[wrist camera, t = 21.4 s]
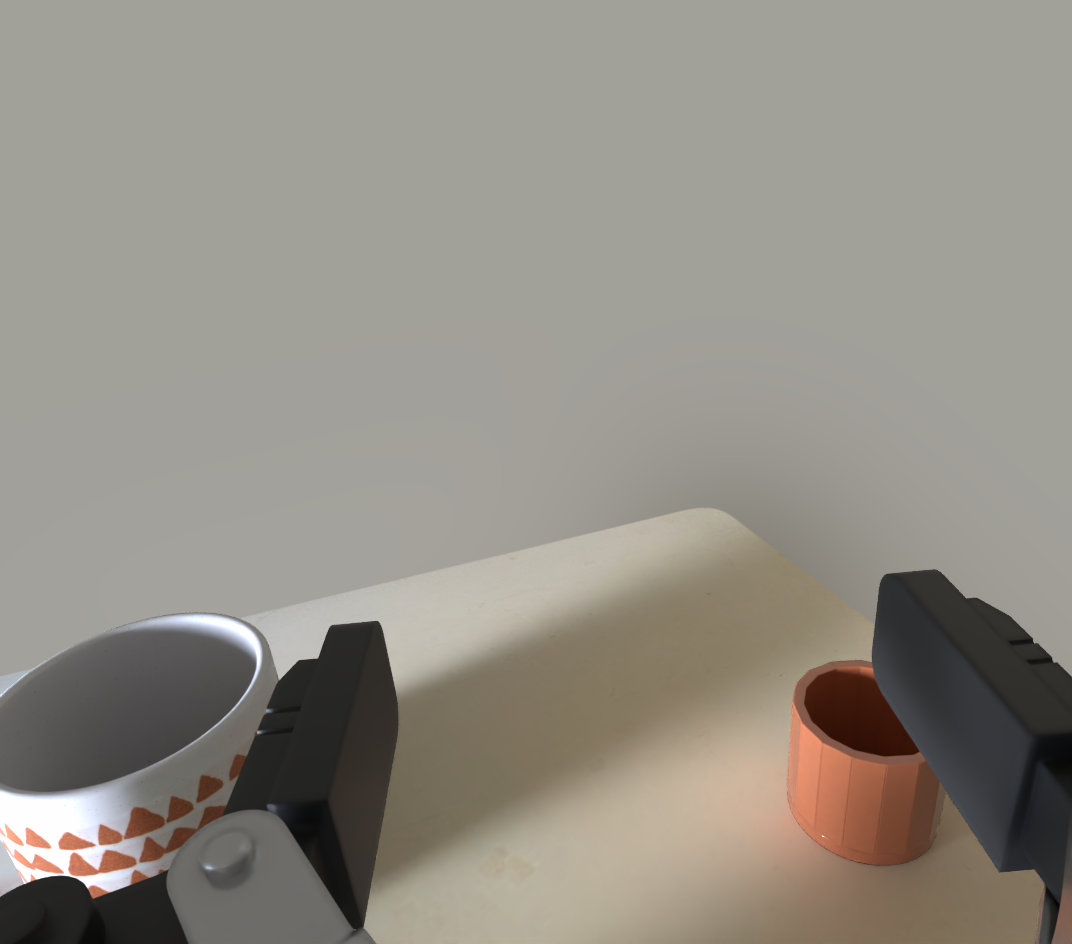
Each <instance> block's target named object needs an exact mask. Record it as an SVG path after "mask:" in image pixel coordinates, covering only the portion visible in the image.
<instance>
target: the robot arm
mask: <svg viewBox="0 0 1072 944" xmlns="http://www.w3.org/2000/svg"><path fill="white" fill-rule="evenodd" d="M872 666H873V671H874V675H875V679H876V682H877V685H878V687H879V689H880V691H881V693H882V695H883V696H884V698H885V699H886V701H887V702H888V704H889V705H890V707H891V708H892V710H893V711H894V713H895V714H896V716H897V717H898V719H899V720H900V722H901V723H902V725H903V727H904V728H905V730H906V731H907V733H908V734H909V736H910V737H911V739H912V740H913V742H914V743H915V745H916V746H917V748H918V749H919V751H920V752H921V754H922V755H923V757H924V758H925V760H926V762H927V763H928V765H929V766H930V768H931V769H932V771H933V772H934V774H935V775H936V777H937V778H938V780H939V781H940V783H941V784H942V786H943V787H944V789H945V790H946V792H947V794H948V795H949V797H950V798H951V800H952V801H953V803H954V804H955V806H956V807H957V809H958V810H959V812H960V813H961V815H962V816H963V818H964V819H965V821H966V822H967V824H968V825H969V827H970V829H971V830H972V832H973V833H974V835H975V836H976V838H977V839H978V841H979V842H980V844H981V845H982V847H983V848H984V850H985V851H986V853H987V854H988V856H989V857H990V859H991V861H992V862H993V864H994V865H995V867H996V868H997V870H998V871H999V872H1010V871H1021V870H1031V869H1035V871H1036V872H1037V873H1038V875H1039V876H1040V878H1041V879H1042V880H1043V882H1044V883H1045V884H1044V888H1043V892H1042V895H1041V899H1040V905H1039V913H1038V920H1037V928H1036V936H1035V944H1072V677H1071V676H1070V675H1069V674H1068V673H1067V672H1066V671H1065V670H1064V669H1063V668H1062V667H1061V666H1060V665H1059V664H1058V663H1053V661H1052V657H1051V656H1050V655H1049V654H1048V653H1047V652H1046V651H1045V650H1044V649H1043V648H1042V647H1041V646H1040V645H1039V644H1037V643H1035V644H1034V642H1033V638H1032V637H1031V636H1030V635H1029V634H1028V633H1027V632H1025V630H1024V629H1023V628H1021V627H1020V626H1019V625H1018V624H1017V623H1016V622H1015V621H1014V620H1013V619H1012V618H1011V617H1010V616H1009V615H1007V614H1005V613H1003V612H1002V611H1000V610H998V609H996V608H994V607H992V606H991V605H989V604H987V603H985V602H983V601H982V600H980V599H978V598H967V599H966V598H965V597H964V596H963V595H962V594H961V593H960V592H959V590H958V589H957V588H956V587H955V586H954V585H953V584H952V583H951V582H949V580H948V579H947V578H946V577H945V576H944V575H943V574H942V573H941V572H939V571H938V570H934V569H933V570H923V571H912V572H903V573H892V574H886V575H884V577H883V578H882V580H881V582H880V587H879V595H878V603H877V612H876V621H875V629H874V638H873V646H872ZM397 736H398V702H397V696H396V691H395V686H394V681H393V677H392V672H391V667H390V662H389V658H388V653H387V648H386V644H385V639H384V634H383V630H382V627H381V625H380V623H379V622H378V621H371V622H361V623H350V624H340V625H332V626H330V628H329V630H328V632H327V635H326V638H325V641H324V643H323V646H322V649H321V652H320V655H319V658H318V659H308V660H299V661H298V662H297V663H296V664H295V665H294V666H293V667H292V668H291V669H290V670H289V671H288V672H287V673H286V674H285V675H284V676H283V677H282V678H281V679H280V681H279V682H278V683H277V684H276V686H275V688H274V691H273V693H272V696H271V698H270V701H269V703H268V705H267V708H266V714H264V715H263V718H262V720H261V722H260V725H259V727H258V730H257V736H255V737H254V740H253V742H252V744H251V747H250V749H249V752H248V754H247V757H246V759H245V761H244V764H243V766H242V769H241V771H240V774H239V776H238V778H237V781H236V783H235V786H234V788H233V791H232V793H231V795H230V798H229V800H228V803H227V805H226V808H225V810H224V812H223V815H222V817H220V818H218V819H216V820H214V821H212V822H210V823H209V824H207V825H205V826H204V827H202V828H201V829H200V830H198V831H197V832H196V833H195V834H193V835H192V836H191V837H190V838H189V839H188V840H187V841H186V842H185V843H184V844H183V846H182V847H181V848H180V849H179V851H178V852H177V854H176V855H175V857H174V859H173V860H172V863H171V865H170V867H169V869H168V870H166V871H164V872H163V873H160V874H158V875H155V876H153V877H151V878H148V879H145V880H143V881H140V882H137V883H134V884H132V885H129V886H126V887H123V888H121V889H118V890H115V891H112V892H110V893H107V894H104V895H102V896H99V897H96V898H92V896H91V894H90V892H89V890H88V888H87V887H86V885H85V884H84V883H83V882H82V881H80V880H79V879H77V878H74V877H71V876H63V875H58V876H49V877H44V878H40V879H37V880H34V881H31V882H28V883H26V884H23V885H21V886H19V887H17V888H15V889H13V890H11V891H10V892H8V893H6V894H4V895H3V896H1V897H0V944H376V943H375V942H374V940H373V939H372V937H371V936H370V935H369V934H368V932H367V931H366V930H365V929H364V928H363V927H364V922H365V916H366V910H367V905H368V899H369V894H370V888H371V882H372V877H373V871H374V866H375V860H376V854H377V849H378V843H379V838H380V832H381V826H382V821H383V815H384V810H385V804H386V798H387V793H388V787H389V781H390V776H391V770H392V765H393V759H394V753H395V748H396V742H397ZM354 929H356V930H354Z"/></svg>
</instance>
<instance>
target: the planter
mask: <svg viewBox="0 0 1072 944" xmlns="http://www.w3.org/2000/svg"><path fill="white" fill-rule="evenodd" d="M278 682H279V679H278V675H277V672H276V668H275V664H274V661H273V657H272V654H271V650H270V648H269V645H268V642H267V640H266V639H265V637H264V636H263V634H262V633H261V632H260V631H259V630H258V629H257V628H255V627H254V626H253V625H251V624H249V623H248V622H246V621H243V620H241V619H238V618H235V617H232V616H227V615H222V614H215V613H180V614H170V615H164V616H158V617H153V618H148V619H144V620H140V621H136V622H132V623H129V624H126V625H123V626H120V627H116V628H114V629H111V630H108V631H106V632H103V633H100V634H98V635H95V636H93V637H91V638H88V639H86V640H84V641H82V642H80V643H78V644H75V645H74V646H71V647H70V648H68V649H66V650H64V651H62V652H60V653H58V654H57V655H55V656H53V657H51V658H50V659H48V660H46V661H45V662H43V663H42V664H40V665H39V666H37V667H35V668H34V669H32V670H31V671H30V672H28V673H27V674H25V675H24V676H23V677H21V678H20V679H19V680H18V681H16V682H15V683H14V684H13V685H11V686H10V687H9V688H8V689H7V690H6V691H5V692H4V693H2V694H1V695H0V838H1V840H2V842H3V844H4V845H5V847H6V849H7V851H8V853H9V855H10V857H11V859H12V861H13V862H14V864H15V866H16V868H17V870H18V872H19V874H20V876H21V878H22V879H23V881H24V883H25V884H26V883H28V882H31V881H34V880H37V879H40V878H44V877H49V876H58V875H63V876H71V877H74V878H77V879H79V880H80V881H82V882H83V883H84V884H85V885H86V887H87V888H88V890H89V892H90V894H91V896H92V898H96V897H99V896H102V895H104V894H107V893H110V892H112V891H115V890H118V889H121V888H123V887H126V886H129V885H132V884H134V883H137V882H140V881H143V880H145V879H148V878H151V877H153V876H155V875H158V874H160V873H163V872H164V871H166V870H168V869H169V867H170V865H171V863H172V860H173V859H174V857H175V855H176V854H177V852H178V851H179V849H180V848H181V847H182V846H183V844H184V843H185V842H186V841H187V840H188V839H189V838H190V837H191V836H192V835H193V834H195V833H196V832H197V831H198V830H200V829H201V828H202V827H204V826H205V825H207V824H209V823H210V822H212V821H214V820H216V819H218V818H220V817H222V815H223V812H224V810H225V808H226V805H227V803H228V800H229V798H230V795H231V793H232V791H233V788H234V786H235V783H236V781H237V778H238V776H239V774H240V771H241V769H242V766H243V764H244V761H245V759H246V757H247V754H248V752H249V749H250V747H251V744H252V742H253V740H254V737H255V736H257V730H258V727H259V725H260V722H261V720H262V718H263V715H264V714H266V708H267V705H268V703H269V701H270V698H271V696H272V693H273V691H274V688H275V686H276V684H277V683H278Z"/></svg>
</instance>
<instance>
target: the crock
mask: <svg viewBox="0 0 1072 944" xmlns="http://www.w3.org/2000/svg"><path fill="white" fill-rule="evenodd" d="M787 788H788V790H787V795H788V802H789V806H790V809H791V811H792V813H793V815H794V817H795V819H796V820H797V822H798V823H799V825H800V826H801V827H802V828H803V830H804V831H805V832H806V833H807V834H808V835H809V836H810V837H811V838H812V839H814V840H815V841H816V842H817V843H819V844H820V845H822V846H823V847H825V848H826V849H828V850H830V851H831V852H833V853H835V854H837V855H839V856H842V857H844V858H847V859H850V860H853V861H856V862H860V863H865V864H871V865H896V864H901V863H905V862H908V861H911V860H913V859H916V858H917V857H919V856H921V855H922V854H923V853H924V852H926V851H927V850H928V849H929V847H930V846H931V845H932V844H933V842H934V839H935V837H936V834H937V829H938V826H939V825H940V821H941V816H942V810H943V805H944V799H945V794H946V790H945V789H944V787H943V786H942V784H941V783H940V781H939V780H938V778H937V777H936V775H935V774H934V772H933V771H932V769H931V768H930V766H929V765H928V763H927V762H926V760H925V758H924V757H923V755H922V754H921V752H920V751H919V749H918V748H917V746H916V745H915V743H914V742H913V740H912V739H911V737H910V736H909V734H908V733H907V731H906V730H905V728H904V727H903V725H902V723H901V722H900V720H899V719H898V717H897V716H896V714H895V713H894V711H893V710H892V708H891V707H890V705H889V704H888V702H887V701H886V699H885V698H884V696H883V695H882V693H881V691H880V689H879V687H878V685H877V682H876V679H875V675H874V671H873V666H872V662H868V661H862V660H853V661H837V662H830V663H827V664H824V665H822V666H819V667H817V668H814V669H811V670H809V671H808V672H807V673H806V674H805V675H804V676H803V677H802V678H801V679H800V680H799V681H798V682H797V684H796V685H795V691H794V697H793V704H792V719H791V733H790V748H789V763H788V778H787Z"/></svg>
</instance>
